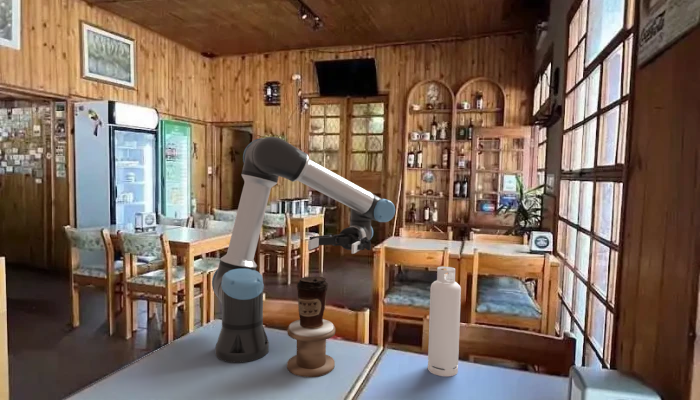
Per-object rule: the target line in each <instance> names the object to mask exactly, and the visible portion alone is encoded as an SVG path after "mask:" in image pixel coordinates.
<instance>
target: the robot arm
mask: <svg viewBox="0 0 700 400" xmlns="http://www.w3.org/2000/svg"><path fill="white" fill-rule="evenodd" d="M242 159H243V160H242V162H243V167H242V171H241V177H242V179H243V181H244V184H243V187H242V191H241V195H240V199H239V203H238V207H237V212H236V215H235V219H234V224H233V227H232V232H231V236H230V240H229V244H228V246H227V251H226V252H227V253H226V254H224V255H223V256H222V257H220V259H219V263H218V267H217V269H216V270H215V271H214V273H213V276H212V278H211V279H212V280H211V286H212V290H213V293H214V295H216V297H217V298H218V300H219V301H220V303H221V329H220V332H219V335H218V339H217V341H216V344H215V357H216V358H218V360H221V361H223V362H227V363H246V362H253V361H256V360H259V359H261V358H264V357H265V356H266V355H267V354H268V353H269V347H270V343H269V340H268V336H267V333H266V330H265V328H264V323H263V322H264V288H265V286H264V279H263V278H264V277H263V275H262V274H261V273H260V272H259V271H257V267H258V265H257V263H256V262H255V259H254V258H255V256H256V255H255V254H256V251H257V247H258V243H259V238H260V234H261V232H262V231H261V230H262V226H263V223H264V218H265V213H266V210H267V206H268V202H269V199H270V198H269V197H270V194H271V190H272V188H273V187H274V186H276V185H277V184H278V181H279V177H280V178H284V179H286V180H288V181H290V182H293V183H294V182H299V183H301V184H303V185H304V186H308V187H309V188H311V189H313V190H315V191H317V192H319V193H321V194H323V195H325V196H327V197H329V198H331V199H332V200H335V201H336V202H338V203H341V204H342V205H345V206H346V207H348V208H350V220H349V221H350V225H349V226H348V227H345V228H343V229H342V230H341V231H340V232H339V234H331V233H329V234H325V235H316V236H315V235H314V236H312V235H311V236H309V240H308V244H307V245H308V246H307V247H308V248H307V249H308V250H309V251H311V250H313V249H317V248H318V247H319V246H331V245H332V246H334V247H337V246H340V247H342V248H343V249H344V250H347V251H351V254H352V255H353V254H357V253H358V252H360V251H364V250H367V251H371V250H372V241H371V240H372V238H373V236H374V229H373V227H372V221H376V222H378V223H388V222H389V221H391V220H393V219H394V216H395V214H396V207H395V204H394V203H393V202H392V201H391V200H389V199H386V198H381V197H379V196H378V195H376V194H374V193H372V192H371V191H369V190H366V189H365V188H363V187H361V186H359V185H358V184H355V183H354V182H352V181H350V180H348V179H346V178H345V177H343V176H342V175H339V174H337V173H336V172H334V171H332V170H330V169H329V168H326V167H325V166H323V165H321V164H319V163H318V162H315V161H313V160H312V159H310V158H309V154H308V153H306V152H304V151H303V150H301V149H299V148H297V147H296V146H294V145H292V144H291V143H290V142H288V141H286V140H284V139H282V138H280V137H276V136H268V137H267V136H266V137H262V138H257V139H254V140H252V141H251V142H249V144H248V145H247V146H246V147H245V149H244V151H243V155H242Z"/></svg>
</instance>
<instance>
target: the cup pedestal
mask: <svg viewBox="0 0 700 400" xmlns="http://www.w3.org/2000/svg"><path fill="white" fill-rule="evenodd" d="M286 332H287V336H288V337H289V338H291V339H293V340H296V351H295V352H296V353H295V355H292V356H291V357H290V358H289V359H287V362H286V369H287V371H289V373H290V374H292V375H295V376H298V377H304V378H315V377H317V378H318V377H321V376H325V375H328V374H330V373H331V372H332V371H334V369H335V366H336V365H335V362H336V361H335V359H334V358H333V357H332V356H330V355H329V354H326V353H327V340H329V339H330V338H332V337H334V336H335V334H336V327H335V325H334V324H333V322H332V321H330V320H327V319H324V318H323V326H322V327H320V328H304V327H301V326H300V319H297V320H293V321H292V322H291V323H289V325H288V327H287V331H286Z"/></svg>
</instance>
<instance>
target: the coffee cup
mask: <svg viewBox="0 0 700 400" xmlns="http://www.w3.org/2000/svg"><path fill="white" fill-rule="evenodd" d="M326 280H327V278H325V277H322V276H307V277H306V276H305V277H300V278H299V282H298V283H297V286H296V287H297V303H298V304H297V305H298V315H299V320H300V326H301V327H304V328H320V327H322V326H323V319H324V313H325V310H326V303H327V291H328V286H329V283H328V282H326Z"/></svg>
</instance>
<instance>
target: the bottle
mask: <svg viewBox="0 0 700 400" xmlns="http://www.w3.org/2000/svg"><path fill="white" fill-rule="evenodd" d="M436 272H437V273H436V280H434V281H433V282H432V283H431V284H430V289H429V290H430V291H429V292H430V293H429V318H428V320H429V322H428V323H429V325H428V351H427V355H428V356H427V360H428V361H427V370H428V371H429V372H430V373H431V374H432V375H436V376H439V377H453V376H456V375H457V374H458V373H459V352H460V351H459V350H460V329H461V327H460V324H461V297H462V294H461V293H462V287H461V285H460V284H459V283H458V282H457V281H456V268H454V267H453V266H438V267H437V269H436Z"/></svg>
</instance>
